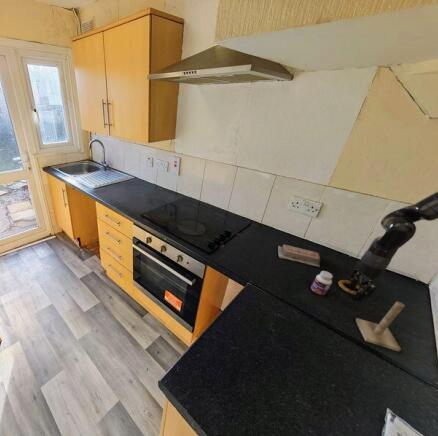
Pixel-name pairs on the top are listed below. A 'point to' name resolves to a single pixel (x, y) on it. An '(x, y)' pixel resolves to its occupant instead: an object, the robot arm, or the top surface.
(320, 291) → the pill bottle
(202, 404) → the top surface
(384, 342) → the wooden peg stand
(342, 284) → the ring
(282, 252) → the packaged product
